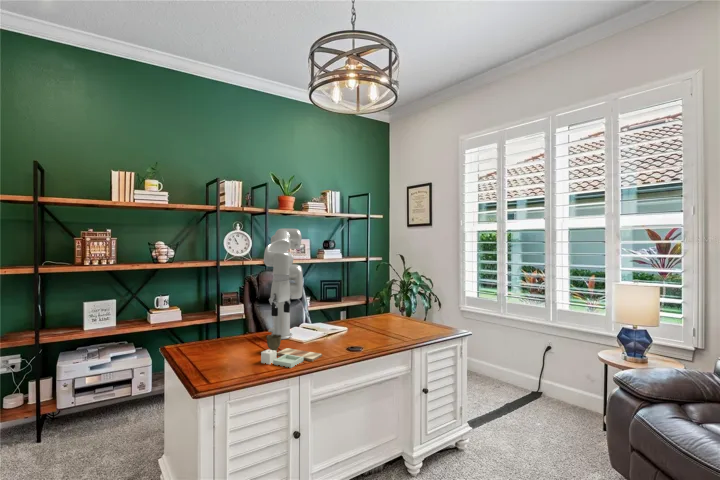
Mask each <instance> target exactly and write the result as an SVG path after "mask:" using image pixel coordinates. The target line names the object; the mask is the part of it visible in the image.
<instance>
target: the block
mask: <svg viewBox="0 0 720 480" xmlns="http://www.w3.org/2000/svg"><path fill="white" fill-rule="evenodd" d="M277 351H278V350H277ZM277 351H275V350H270V348H268V349H266V350H263V351H261V352H260V354H261V355H260V363H261V364H265V363H266V365H271V363H272V364H273V360H275V359H277V358H278V357H277V356H278V355H277Z"/></svg>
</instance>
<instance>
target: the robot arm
mask: <svg viewBox="0 0 720 480" xmlns="http://www.w3.org/2000/svg"><path fill="white" fill-rule="evenodd" d="M301 245H302V233H301V231H300V229H298V228H278V229H277V230H276V231H275V233H274V234H273V235H272V236H271V237H270V243H269V244H268V245H267V246H266V247H265V250H264V253H263V254H264V255H263V263H264V265H265V266H267V267H272V268H273V269H272V272H273V274H272V277H273V281H272V282H271V288H270V289H271V290H270V297H269V299H268V301H269V302H268V303H269V305H270V308H271V315H270V316H271V317H272V318H273V319H272V320H273V324H272V326H273V327H270V328H269V329H268V333H271V334H270V335H273V334H274V335H275V334H276V335H277V334H278V335H281V340H288V339H290V338H289V337H291V336H292V337H293V333H292V332H291V301H292V300H298V299H301V298H302V297H303V289H304V288H303V287H304V286H303V281H304V280H303V276H304V275H303V267H302V265H300V264H296V263H295V264H294V259H295V258H294V255H293V253H292V252H290V250H297V249H300V248H301ZM290 281H292V282H290ZM292 337H291V338H292Z"/></svg>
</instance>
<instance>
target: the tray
mask: <svg viewBox="0 0 720 480" xmlns="http://www.w3.org/2000/svg"><path fill="white" fill-rule="evenodd" d="M304 361H305V360H304V357H300V356H294V355H289V354H285V355H283V356H278V357H277V359H275V360H273V363H272V364H274V366H278V365H280V366H279V367H283V366H285V367H284V368H288V367H289V368H290V369H292V368H294V367H296V366H297V364H298V365H300V364H302V363H303V362H304ZM299 363H300V364H299ZM295 365H296V366H295Z"/></svg>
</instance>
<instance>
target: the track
mask: <svg viewBox="0 0 720 480" xmlns="http://www.w3.org/2000/svg"><path fill="white" fill-rule="evenodd" d="M285 354H289V355H294V356H300V357H304V361H306V360H307V361H308V362H311V361H312V362H313V363H314V362H315V361H316V360H318V359H320V358H321V357H323V354H322V353H319V352H315V351H314V352H313V351H307V350H300V349H294V348H289V347H288V348H287V347H286V348H284V349H282V350H279V351H278V352H277V356H278V357H281V356H283V355H285ZM314 360H315V361H314ZM307 361H306V362H307Z"/></svg>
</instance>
